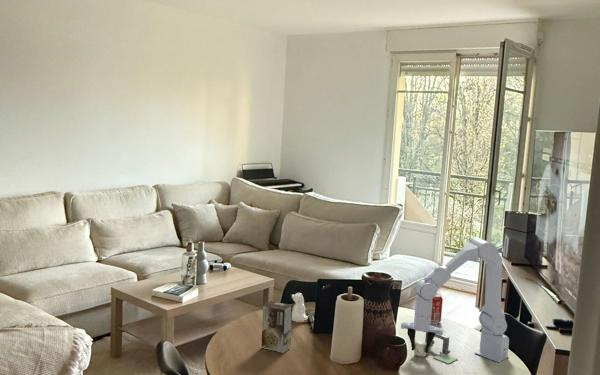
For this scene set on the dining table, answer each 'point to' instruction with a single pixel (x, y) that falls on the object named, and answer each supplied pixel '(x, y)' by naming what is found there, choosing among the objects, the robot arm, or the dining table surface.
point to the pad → (445, 358)
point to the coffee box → (276, 326)
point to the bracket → (445, 342)
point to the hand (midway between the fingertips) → (419, 350)
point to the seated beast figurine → (298, 308)
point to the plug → (421, 348)
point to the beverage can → (436, 309)
